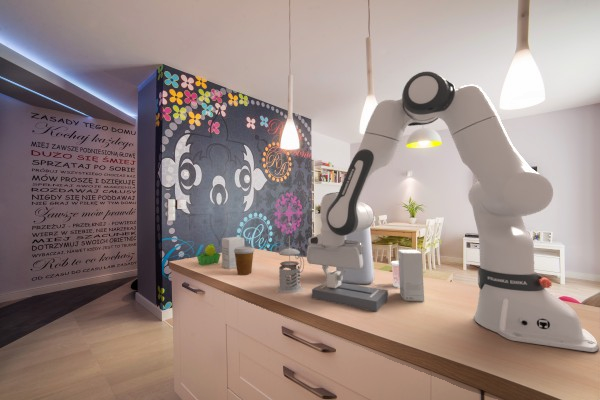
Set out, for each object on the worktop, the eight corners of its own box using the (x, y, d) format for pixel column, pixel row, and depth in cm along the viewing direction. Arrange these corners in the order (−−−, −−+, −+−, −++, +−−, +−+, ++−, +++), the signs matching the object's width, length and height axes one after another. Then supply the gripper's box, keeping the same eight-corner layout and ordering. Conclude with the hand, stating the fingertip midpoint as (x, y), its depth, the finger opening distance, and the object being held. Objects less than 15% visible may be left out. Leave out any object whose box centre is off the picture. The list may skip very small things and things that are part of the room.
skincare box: (424, 302, 84) (423, 253, 85) (402, 301, 86) (401, 252, 86) (418, 293, 93) (417, 249, 93) (398, 292, 94) (397, 248, 94)
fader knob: (341, 284, 93) (341, 271, 93) (335, 288, 89) (334, 274, 89) (333, 283, 95) (333, 270, 95) (327, 286, 90) (326, 273, 90)
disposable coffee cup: (233, 271, 127) (233, 246, 127) (253, 270, 130) (253, 245, 130) (234, 276, 118) (234, 249, 118) (256, 274, 121) (255, 248, 121)
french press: (271, 288, 100) (270, 222, 101) (294, 282, 108) (294, 221, 108) (287, 295, 93) (286, 223, 93) (311, 288, 100) (310, 222, 101)
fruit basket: (216, 261, 153) (216, 241, 153) (222, 263, 146) (222, 243, 146) (195, 264, 145) (195, 243, 146) (201, 266, 138) (201, 245, 139)
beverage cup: (411, 288, 99) (410, 250, 99) (394, 288, 99) (393, 250, 99) (404, 283, 105) (404, 247, 105) (389, 283, 105) (388, 248, 105)
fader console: (387, 299, 87) (387, 289, 88) (376, 311, 77) (376, 300, 78) (328, 288, 100) (328, 279, 100) (312, 298, 90) (312, 288, 90)
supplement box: (237, 263, 144) (237, 236, 144) (245, 266, 137) (245, 237, 138) (221, 266, 138) (221, 237, 139) (228, 269, 131) (228, 239, 132)
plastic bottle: (373, 285, 102) (371, 213, 103) (334, 282, 107) (333, 213, 107) (374, 275, 116) (373, 212, 117) (340, 273, 121) (339, 212, 122)
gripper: (365, 240, 89) (366, 281, 89) (313, 236, 100) (313, 273, 100) (358, 242, 84) (359, 286, 83) (304, 238, 95) (304, 277, 95)
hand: (334, 279), depth 92 cm, fingers closed on fader knob, 3 cm apart
